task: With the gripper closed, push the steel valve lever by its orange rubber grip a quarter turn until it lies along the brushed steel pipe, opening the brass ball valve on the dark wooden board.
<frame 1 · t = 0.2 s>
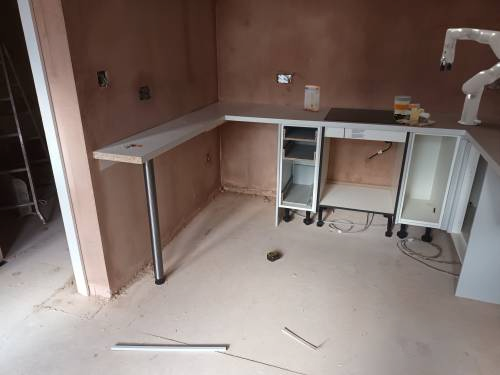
hand: (445, 70, 286), 37 cm above the worktop, tool pointing down, fingers open, 9 cm apart
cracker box: (311, 110, 337), on the worktop
valve board: (415, 122, 286), on the worktop
reusable coffee cup: (400, 115, 315), on the worktop
valve lever: (414, 106, 279), point 13 cm above the worktop, hinge at 90.0°
ball valve: (416, 115, 284), point 6 cm above the worktop
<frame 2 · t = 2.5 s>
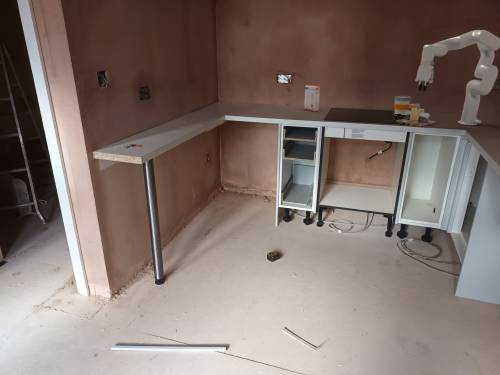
hand: (422, 90, 267), 25 cm above the worktop, tool pointing down, fingers closed
nothing on the worktop moved.
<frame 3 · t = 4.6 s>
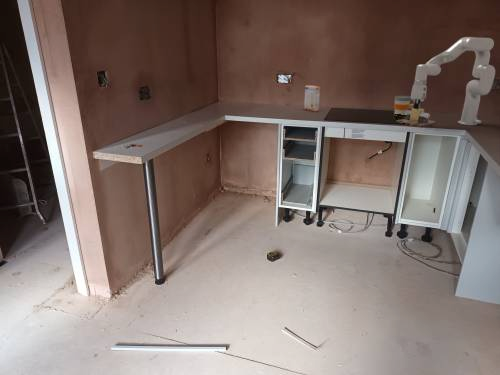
hand: (415, 108, 274), 12 cm above the worktop, tool pointing down, fingers closed
valve lever: (414, 106, 279), point 13 cm above the worktop, hinge at 89.9°, touching gripper
everything else where it was.
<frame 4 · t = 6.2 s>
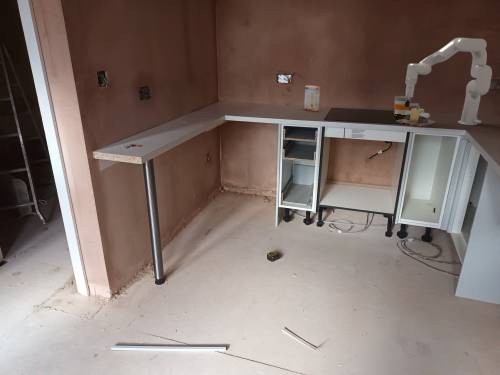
hand: (406, 106, 280), 12 cm above the worktop, tool pointing down, fingers closed
valve lever: (411, 105, 282), point 13 cm above the worktop, hinge at 37.7°, touching gripper
everything else where it was.
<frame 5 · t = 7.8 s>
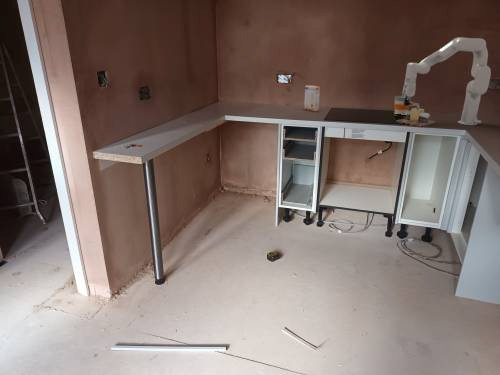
hand: (406, 105, 286), 12 cm above the worktop, tool pointing down, fingers closed
valve lever: (413, 105, 285), point 13 cm above the worktop, hinge at -2.5°, touching gripper
everything else where it was.
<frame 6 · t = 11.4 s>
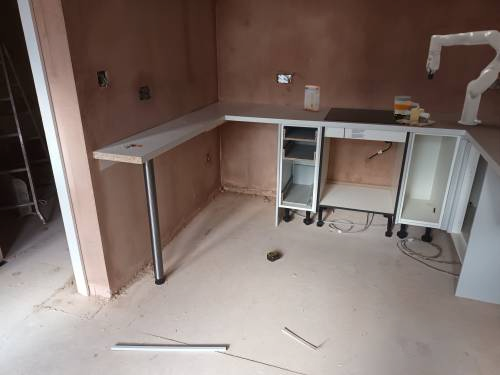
hand: (430, 79, 282), 31 cm above the worktop, tool pointing down, fingers closed
valve lever: (412, 105, 285), point 13 cm above the worktop, hinge at -2.3°
everything else where it was.
at the end: valve lever at -2° (first picture: +90°) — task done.
